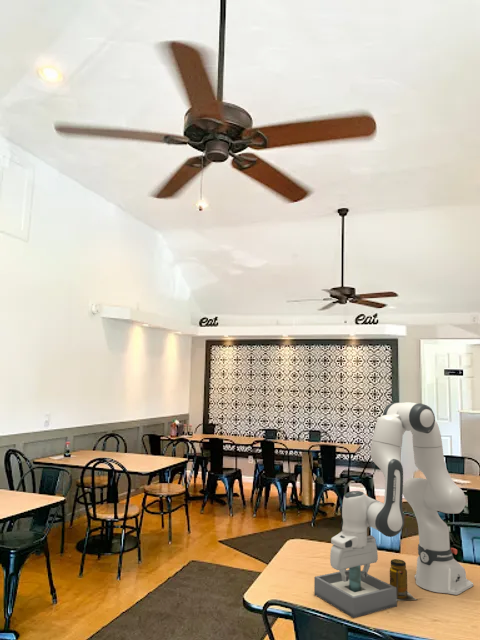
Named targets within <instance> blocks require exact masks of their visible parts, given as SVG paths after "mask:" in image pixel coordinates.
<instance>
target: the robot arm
mask: <svg viewBox="0 0 480 640" xmlns="http://www.w3.org/2000/svg"><path fill="white" fill-rule="evenodd" d="M406 431H410V432H411V434H412V449H413V457H414V458H413V459H414V464H415V466H416V468H417V469H418V470H420V472H422V473H421V474H423V475H424V478H423V477H409V478H407V479H406V480H404V468H403V464H402V456H401V455H402V447H403V437H404V436H403V435H404V434H405V432H406ZM442 440H443V439H442V435H441V431H440V428H439V425H438V422H437V421H436V417H435V413H434V411H433V409H432V408H431V407H430V406H428V405H426V404H424V403H419V402H418V403H416V402H412V401H411V402H410V401H406V402H398V401H397V402H396V401H395V402H391V403H389V404H387V405H386V407H385V408H384V410H383V413H382V415H380V416H379V417H378V419H377V421H376V423H375V427H374V430H373V433H372V439H371V445H370V457H371V459H372V462H373V463H374V464H375V466H377V467H378V468H379V470H381V473H382V475H383V477H384V481H385V482H384V496H383V497H384V498H383V500H384V501H383V502H382V501H379V500H378V499H374V498H372V497H370V496H368V495H367V494H365V492H363V491H361V490H352V491H349V492H346V493H345V494H344V495H343V499H342V505H341V516H342V517H341V518H342V521H343V523H342V529H341V531H340V532H339V533H338V534H336V535H334V536H332V537H331V539H330V542H331V544H332V546H331V548H330V555H329V556H330V558H329V560H330V566H331V568H332V569H334V570H335V571H338V572H340V573H341V575H342V581H344V582H346V581H348V576H347V575H346V574H345V572H346V570H348V569H349V568H352V567H356V566H363V569H362V570H361V573H362V574H361V576H362V577H367V576H368V574H369V573H368V572H369V570H370V567H371V564H376V563H377V562H378V559H379V555H378V554H379V553H378V546H377V541H376V540H377V539H376V538H375V536H373V535H368V528H370V527H371V528H373V529H375V530H377V531H378V532H380V533H381V534H382V535H384V536H386V537H387V538H388V537H389V538H392V537H395V536H397V535H399V534H400V533H401V532H402V530H403V528H404V525H405V516H404V510H403V498H404V499H405V501H406V502H407V503H408V504H409V506H410V507H411V508H412V510H413V513H414V515H415V518H416V522H417V526H418V527H417V529H418V545H417V554H418V556H417V560H416V572H415V574H414V580H415V584H416V585H417V586H418V587H420V588H421V589H424V590H427V591H430V592H434V593H441V594H442V593H443V594H449V595H455V596H456V595H457V596H458V595H460V594H461V593H463V592H465V591H467V590H469V589H470V588H472V587H473V586H474V583H473V582H472V581H471V580H469V579H467V574H466V570H465V567H464V566H463V565H462V564H460V562H459V561H457V560H456V559H455V558H454V555H457V554H458V549H456V548H454V547H450V545H451V544H450V529H449V526H448V525H447V523H446V522H445V521H444V520H443V519H442V518H441V517H440V515H439V513H438V512H440V513H444V514H460V513H461V512H462V511H463V510H464V509H465V506H466V502H467V500H466V495H465V493H464V490H462V488H461V487H459V486H458V485H457V484H456V483H455V482H454V480H453V479H452V476H451V475H450V473H449V471H448V469H447V466H446V463H445V462H446V461H445V455H444V449H443V448H444V447H443V441H442ZM453 554H454V555H453Z"/></svg>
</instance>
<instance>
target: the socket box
mask: <svg viewBox="0 0 480 640" xmlns="http://www.w3.org/2000/svg"><path fill="white" fill-rule="evenodd" d="M345 574H346V575H347V576H348V581H346V582H344V581H342V575H341V573H340V571H336V572H332V573H331V572H330V573H325V574H322V575H321V574H320V575H317V576H314V585H313V587H314V592H313V593H314V596H316V597H318V598H319V599H321V600H322V601H324V602H326V603H328V604H329V605H331V606H333V607H334V608H336V609H338V610H339V611H340V612H343V613H344V614H346V615H348V616H349V617H351V618H353V619H355V618H359V617H362V616H366V615H370V614H373V613H378V612H380V611H385V610H388V609H392V608H395V607H397V606H398V605H397V604H398V603H397V602H398V600H397V592H396V587H394V586H392V585H390V583H388V582H385V581H383V580H381V579H379V578H377V577H375V576H373V575H371V574H369V573H368V576H367V577H362V576H361V591H358V592H353V591H351V590H349V569H346V572H345ZM361 574H362V573H361Z"/></svg>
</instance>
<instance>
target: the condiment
mask: <svg viewBox="0 0 480 640" xmlns="http://www.w3.org/2000/svg"><path fill="white" fill-rule="evenodd" d="M406 565H407V563H406V561H405V560H402V559H398V558H393V559H391V560H390V567H389V584H390V585H392V586H394V587H396V592H397V602H398V601H403V602H404V601H417V600H418V599H417V598H416V597H414V596H413V594H411V593H410V591H408V570H407V567H406Z"/></svg>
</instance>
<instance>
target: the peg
mask: <svg viewBox="0 0 480 640" xmlns="http://www.w3.org/2000/svg"><path fill="white" fill-rule="evenodd" d="M361 569H362V567H361V566H356V567H352V568H348V570H349V590H351V591H353V592H358V591H361V571H362V570H361Z"/></svg>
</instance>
